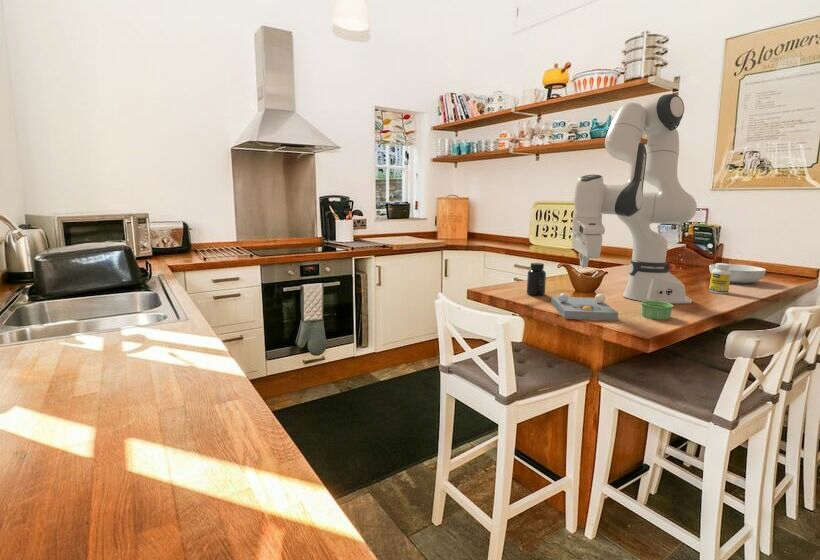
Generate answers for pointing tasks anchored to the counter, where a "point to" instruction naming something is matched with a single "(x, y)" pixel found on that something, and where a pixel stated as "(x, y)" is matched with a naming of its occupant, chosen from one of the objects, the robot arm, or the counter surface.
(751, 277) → the serving bowl
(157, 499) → the counter surface
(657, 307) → the ramekin
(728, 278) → the pill bottle
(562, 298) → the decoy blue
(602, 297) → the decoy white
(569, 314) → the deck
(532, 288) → the supplement bottle
